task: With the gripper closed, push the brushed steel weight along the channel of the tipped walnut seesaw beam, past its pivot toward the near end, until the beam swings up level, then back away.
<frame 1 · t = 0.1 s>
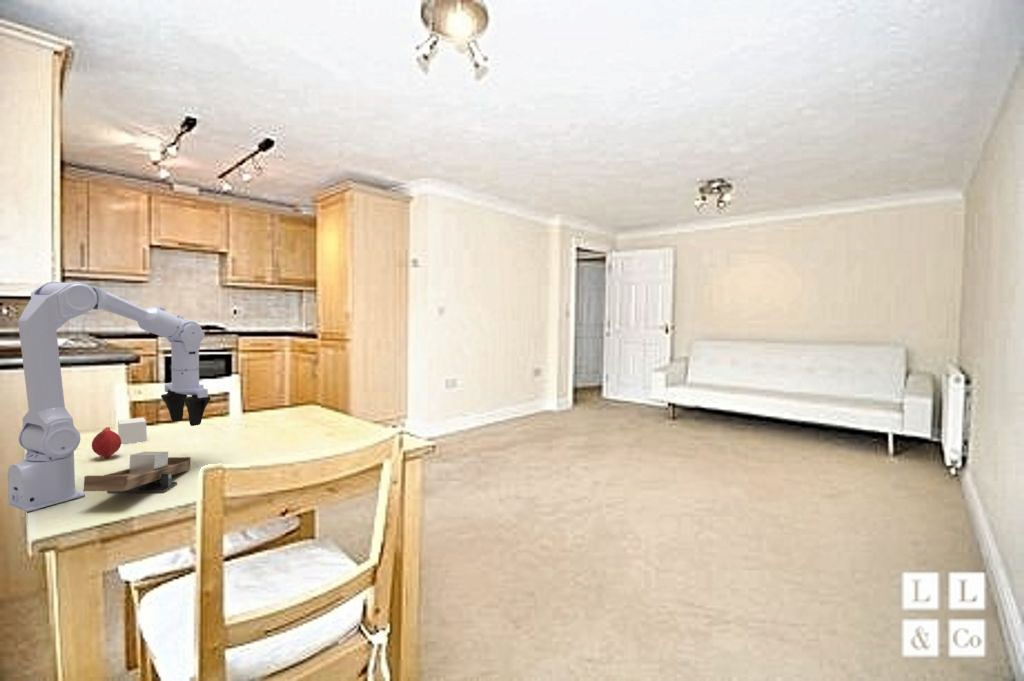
hand: (186, 423, 126), 10 cm above the table, tool pointing down, fingers open, 7 cm apart
beam stand: (143, 488, 109), on the table
balance beam: (143, 472, 109), point 4 cm above the table, hinge at 8.8°, touching steel weight
onion: (107, 458, 129), on the table
steel weight: (148, 471, 111), point 3 cm above the table, tilted 9°, touching balance beam
white cube: (132, 442, 144), on the table
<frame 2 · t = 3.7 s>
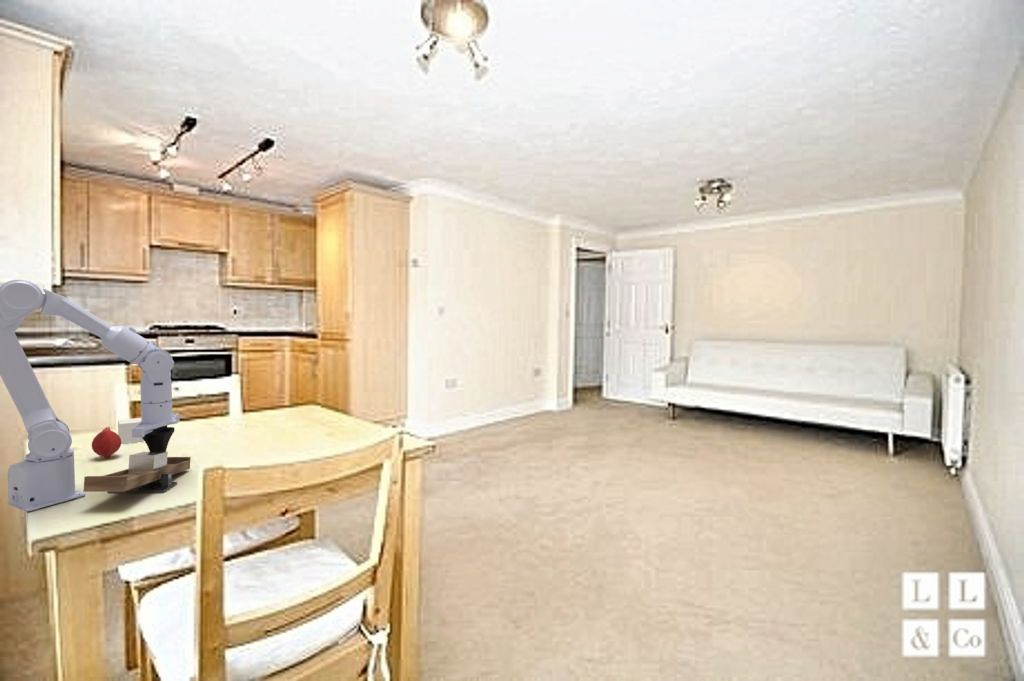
hand: (158, 460, 114), 4 cm above the table, tool pointing down, fingers closed
balance beam: (143, 472, 109), point 4 cm above the table, hinge at 8.3°, touching steel weight
steel weight: (147, 472, 110), point 3 cm above the table, tilted 8°, touching balance beam, gripper
everything else where it was.
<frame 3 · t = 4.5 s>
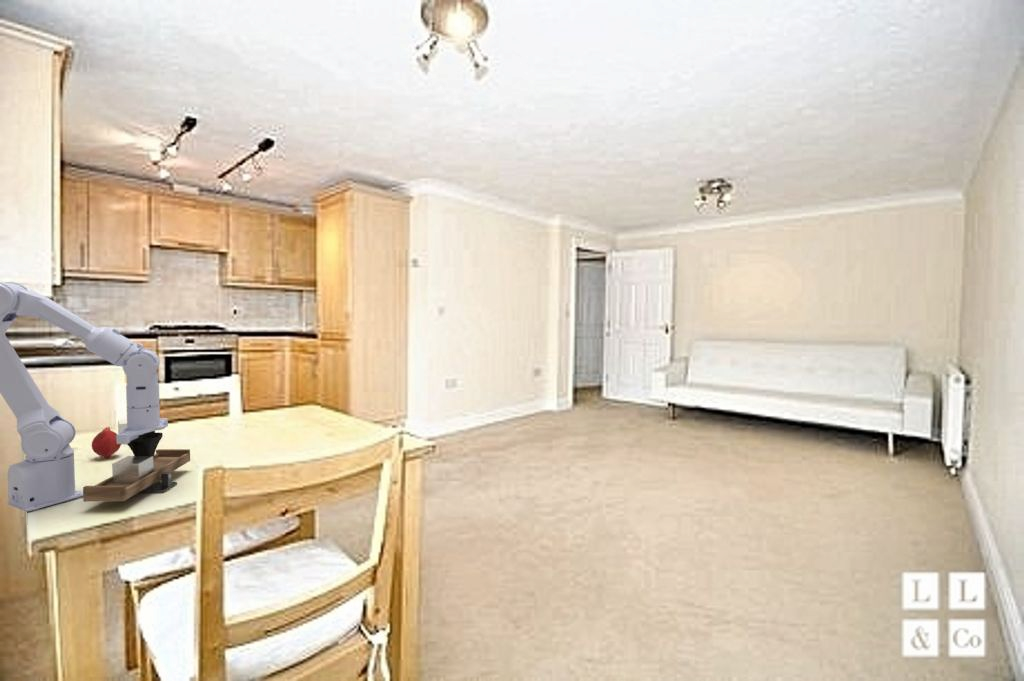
hand: (144, 467, 109), 4 cm above the table, tool pointing down, fingers closed, pressing on steel weight
balance beam: (142, 472, 109), point 4 cm above the table, hinge at -0.8°, touching steel weight
steel weight: (133, 478, 106), point 3 cm above the table, touching balance beam, gripper
everything else where it was.
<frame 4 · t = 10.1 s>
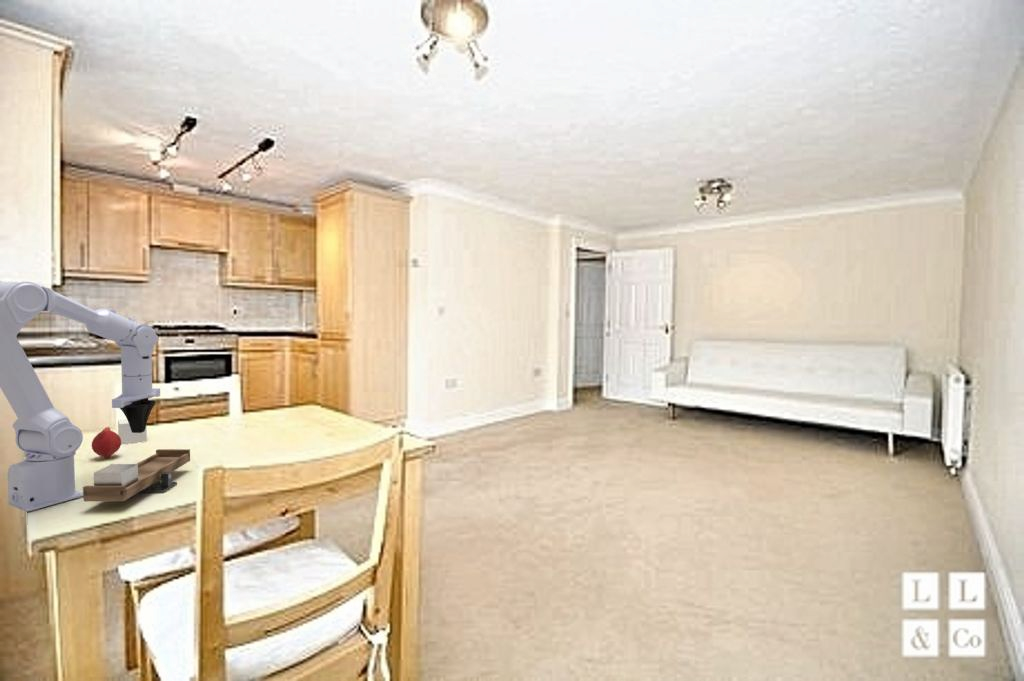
hand: (138, 432, 119), 9 cm above the table, tool pointing down, fingers closed
steel weight: (117, 487, 101), point 3 cm above the table, touching balance beam
everything else where it was.
at the end: balance beam at -1° (first picture: +9°); steel weight 0.8 cm from the target spot on the balance beam, point 0.5 cm above the balance beam's base; steel weight tilted 1° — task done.
